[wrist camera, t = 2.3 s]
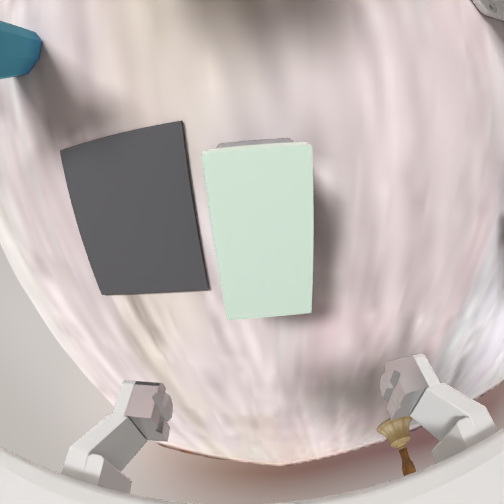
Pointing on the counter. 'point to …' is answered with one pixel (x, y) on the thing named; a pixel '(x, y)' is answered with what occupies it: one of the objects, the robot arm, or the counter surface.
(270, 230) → the mint green block
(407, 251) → the counter surface
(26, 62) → the cup
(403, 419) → the hand bell
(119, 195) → the mat
